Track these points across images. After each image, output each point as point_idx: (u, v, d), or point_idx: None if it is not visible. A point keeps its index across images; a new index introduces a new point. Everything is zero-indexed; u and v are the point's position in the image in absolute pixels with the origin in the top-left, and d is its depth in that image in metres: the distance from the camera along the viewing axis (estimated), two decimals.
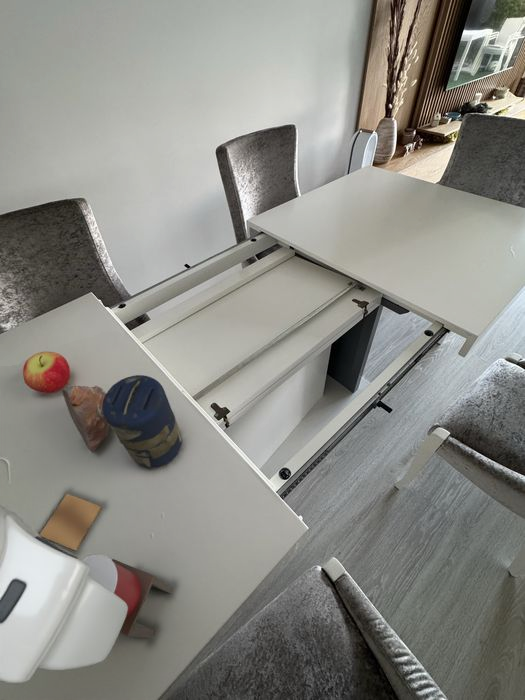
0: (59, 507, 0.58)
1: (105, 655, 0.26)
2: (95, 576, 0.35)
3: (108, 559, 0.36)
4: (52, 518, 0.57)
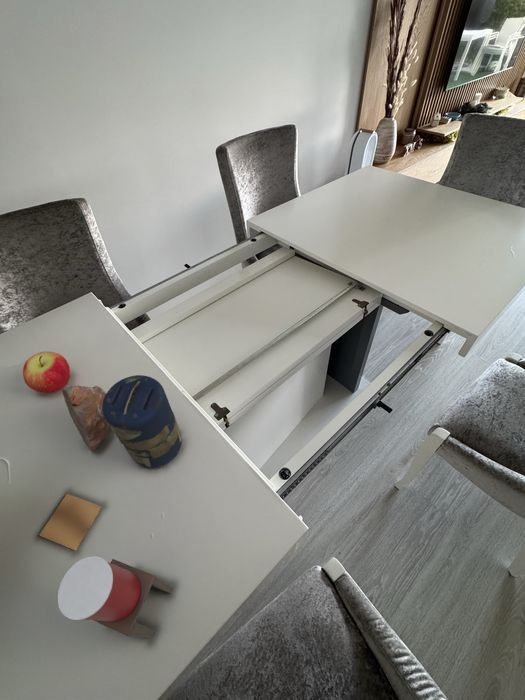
0: (59, 507, 0.58)
1: None
2: (90, 578, 0.34)
3: (103, 560, 0.35)
4: (52, 518, 0.57)
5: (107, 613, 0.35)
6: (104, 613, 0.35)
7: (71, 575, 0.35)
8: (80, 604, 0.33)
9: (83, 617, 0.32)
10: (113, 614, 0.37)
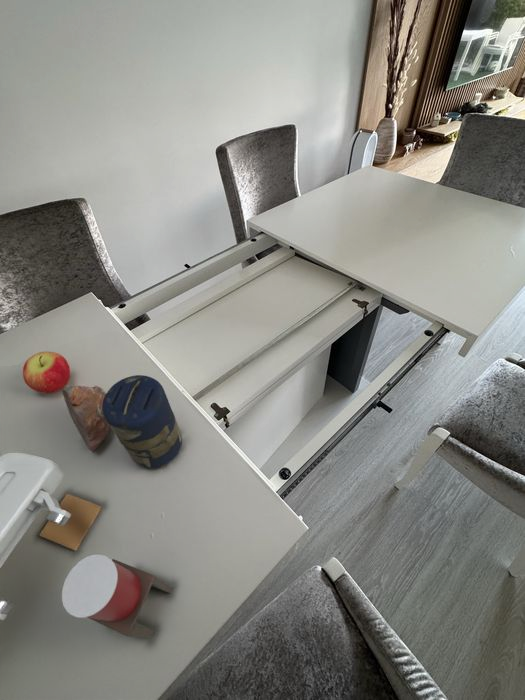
0: None
1: None
2: (95, 576, 0.35)
3: (108, 559, 0.36)
4: None
5: (110, 612, 0.35)
6: (107, 611, 0.35)
7: (75, 573, 0.35)
8: (85, 602, 0.33)
9: (88, 615, 0.33)
10: (115, 613, 0.37)
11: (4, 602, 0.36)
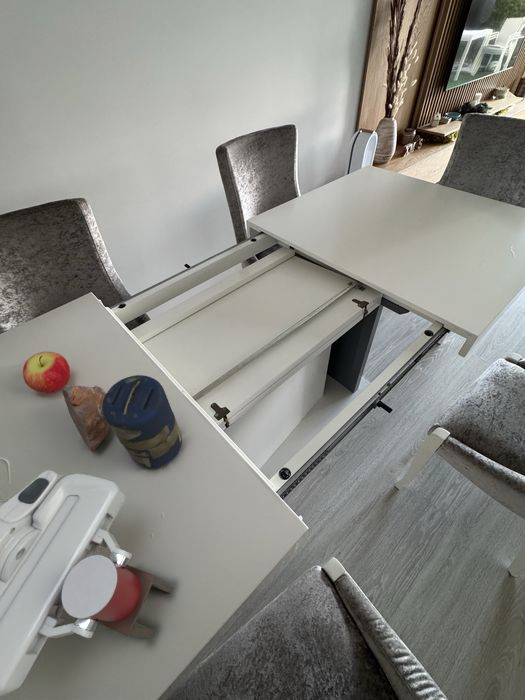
0: None
1: (112, 481, 0.44)
2: (95, 576, 0.35)
3: (107, 559, 0.36)
4: None
5: (110, 612, 0.35)
6: (107, 612, 0.35)
7: (75, 573, 0.35)
8: (84, 602, 0.33)
9: (87, 615, 0.33)
10: (115, 614, 0.37)
11: (91, 620, 0.35)
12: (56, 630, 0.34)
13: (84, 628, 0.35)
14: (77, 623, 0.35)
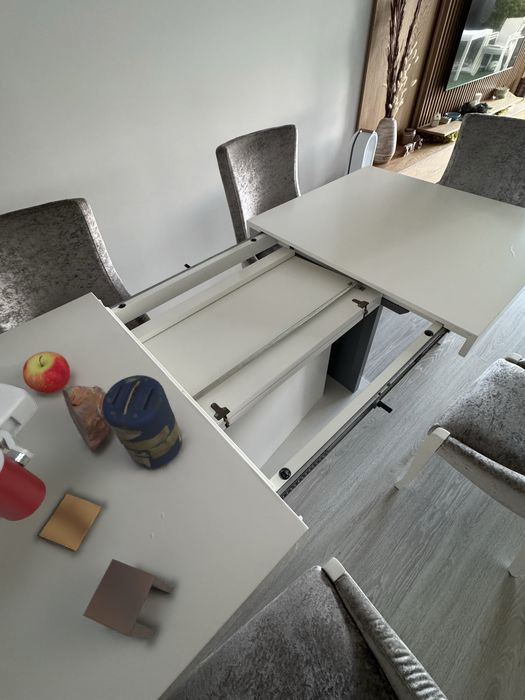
0: (59, 507, 0.58)
1: (21, 389, 0.43)
2: None
3: None
4: (52, 518, 0.57)
5: None
6: None
7: None
8: None
9: None
10: (7, 505, 0.36)
11: None
12: None
13: None
14: None
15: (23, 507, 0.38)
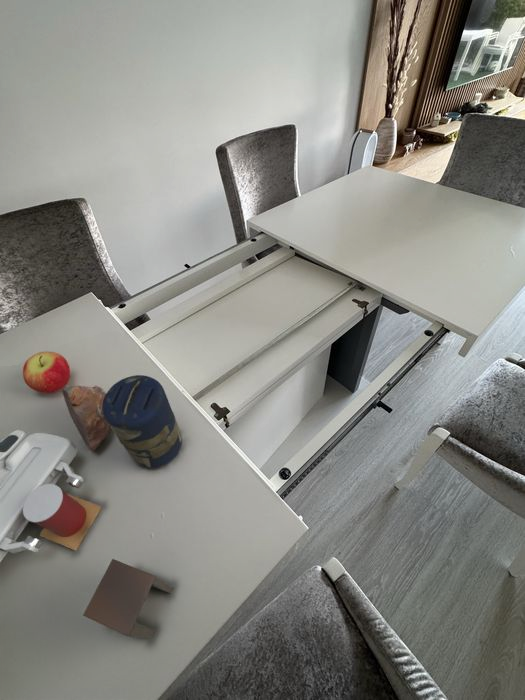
0: None
1: (66, 438, 0.59)
2: (47, 497, 0.50)
3: (57, 486, 0.51)
4: None
5: (58, 523, 0.51)
6: (56, 522, 0.50)
7: (33, 495, 0.50)
8: (38, 512, 0.48)
9: (40, 520, 0.48)
10: (63, 526, 0.52)
11: (36, 539, 0.49)
12: (10, 545, 0.48)
13: (31, 544, 0.49)
14: (26, 541, 0.49)
15: (72, 527, 0.54)
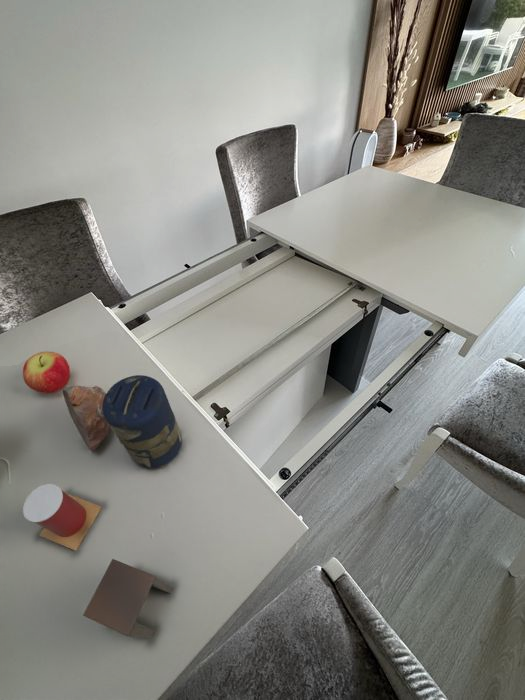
0: None
1: None
2: (47, 497, 0.50)
3: (57, 486, 0.51)
4: None
5: (58, 523, 0.51)
6: (56, 522, 0.50)
7: (33, 495, 0.50)
8: (38, 512, 0.48)
9: (40, 520, 0.48)
10: (63, 526, 0.52)
11: None
12: None
13: None
14: None
15: (72, 527, 0.54)
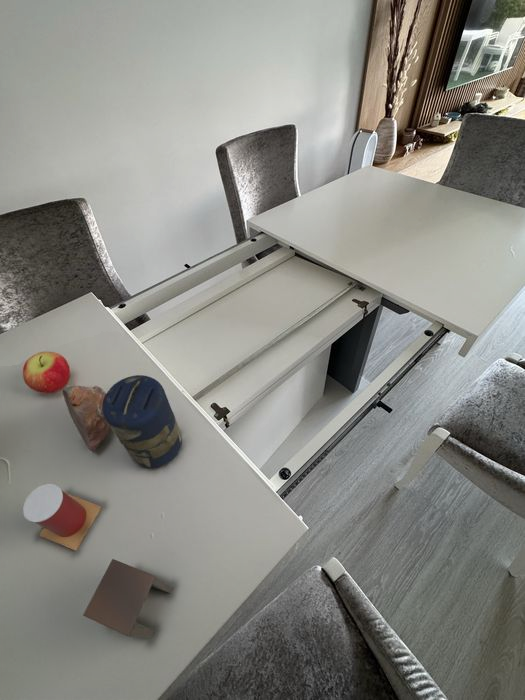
0: None
1: None
2: (47, 497, 0.50)
3: (57, 486, 0.51)
4: None
5: (58, 523, 0.51)
6: (56, 522, 0.50)
7: (33, 495, 0.50)
8: (38, 512, 0.48)
9: (40, 520, 0.48)
10: (63, 526, 0.52)
11: None
12: None
13: None
14: None
15: (72, 527, 0.54)
